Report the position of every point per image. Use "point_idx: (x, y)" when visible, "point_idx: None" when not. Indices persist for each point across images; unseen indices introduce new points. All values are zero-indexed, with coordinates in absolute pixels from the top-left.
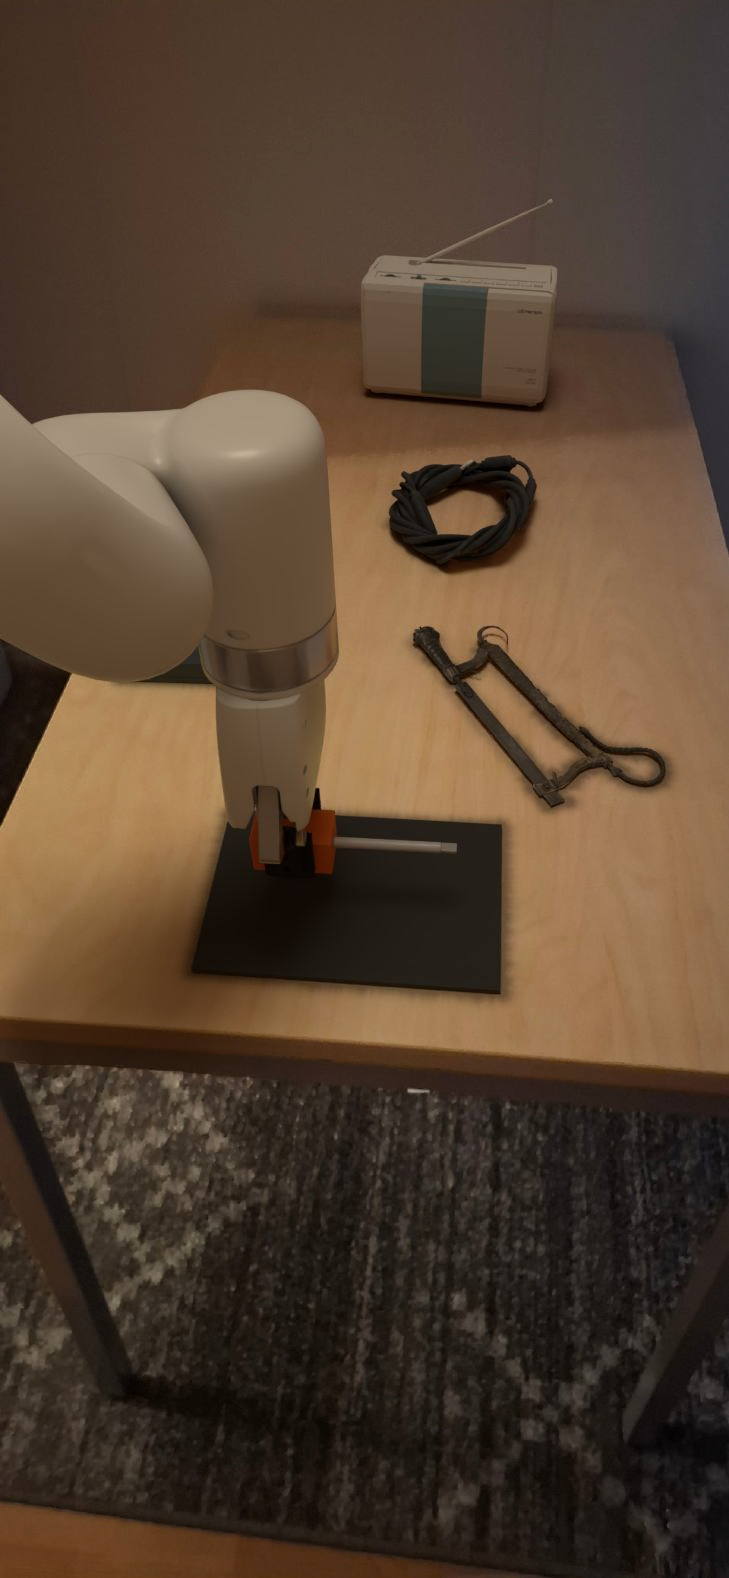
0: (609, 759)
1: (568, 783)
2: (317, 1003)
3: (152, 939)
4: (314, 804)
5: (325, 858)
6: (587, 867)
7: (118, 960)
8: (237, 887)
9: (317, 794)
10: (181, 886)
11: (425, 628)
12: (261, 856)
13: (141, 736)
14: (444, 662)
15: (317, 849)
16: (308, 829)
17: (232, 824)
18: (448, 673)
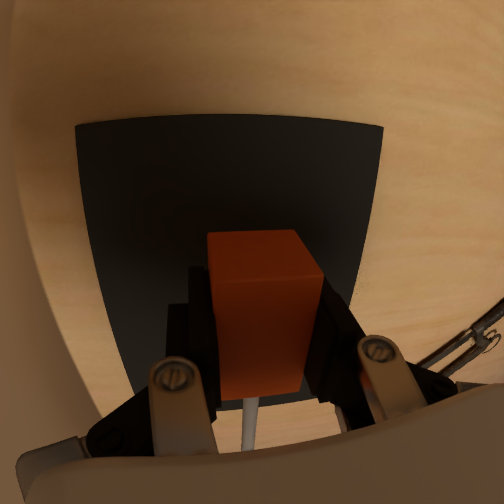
0: None
1: None
2: (76, 288)
3: (129, 47)
4: (308, 379)
5: None
6: (274, 434)
7: (91, 15)
8: (232, 157)
9: (318, 400)
10: (237, 64)
11: None
12: (20, 479)
13: (481, 20)
14: (489, 324)
15: None
16: (252, 373)
17: (26, 500)
18: (480, 327)
